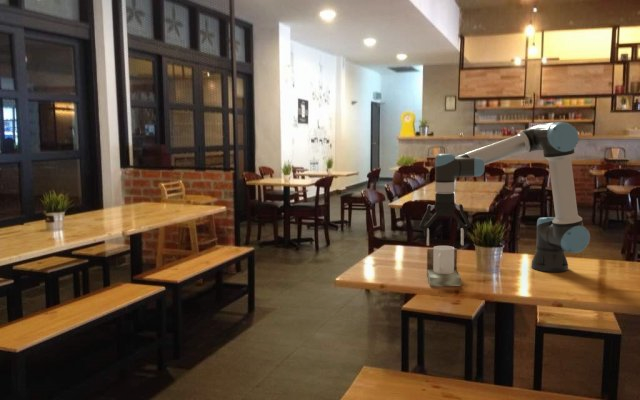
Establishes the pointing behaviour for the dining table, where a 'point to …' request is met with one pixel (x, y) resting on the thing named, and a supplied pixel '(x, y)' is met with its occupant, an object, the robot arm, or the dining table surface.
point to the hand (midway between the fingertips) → (445, 244)
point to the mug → (443, 259)
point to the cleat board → (442, 279)
